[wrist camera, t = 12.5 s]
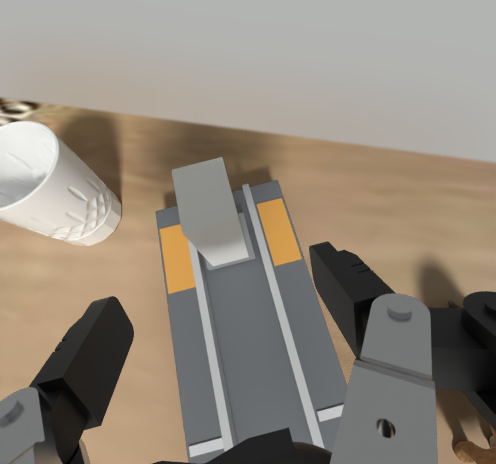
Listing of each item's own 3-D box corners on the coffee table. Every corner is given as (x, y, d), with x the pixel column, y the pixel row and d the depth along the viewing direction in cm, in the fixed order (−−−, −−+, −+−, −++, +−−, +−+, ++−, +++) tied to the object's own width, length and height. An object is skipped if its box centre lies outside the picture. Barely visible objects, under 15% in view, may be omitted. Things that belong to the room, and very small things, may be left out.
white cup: (61, 263, 27) (-50, 228, 17) (53, 200, 29) (-47, 141, 20) (134, 235, 27) (64, 186, 18) (120, 176, 30) (52, 107, 21)
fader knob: (244, 216, 23) (230, 154, 15) (255, 258, 22) (247, 216, 14) (201, 227, 23) (163, 171, 15) (209, 270, 22) (172, 235, 13)
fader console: (276, 194, 28) (278, 170, 23) (357, 440, 20) (381, 470, 16) (167, 223, 27) (148, 204, 23) (205, 481, 20) (187, 524, 15)
